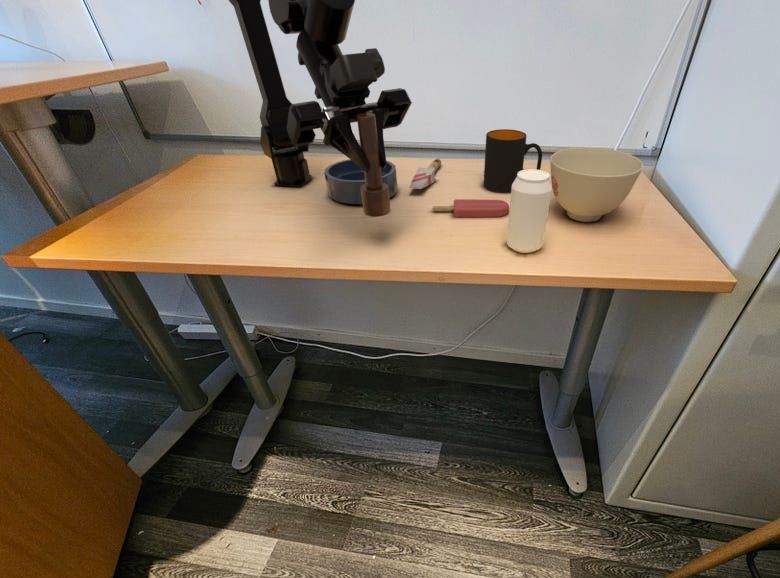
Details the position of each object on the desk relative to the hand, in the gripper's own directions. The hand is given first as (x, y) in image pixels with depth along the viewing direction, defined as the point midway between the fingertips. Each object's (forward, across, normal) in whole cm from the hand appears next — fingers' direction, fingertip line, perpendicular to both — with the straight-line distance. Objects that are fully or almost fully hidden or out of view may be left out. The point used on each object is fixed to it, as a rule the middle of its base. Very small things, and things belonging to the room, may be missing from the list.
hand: (376, 168), depth 62 cm
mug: (+4, +37, +14) cm, 40 cm away
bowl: (+18, +37, 0) cm, 41 cm away
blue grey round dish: (-8, +9, +26) cm, 29 cm away
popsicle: (+8, +21, +11) cm, 25 cm away
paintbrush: (-6, +25, +25) cm, 35 cm away
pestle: (+4, 0, +6) cm, 7 cm away
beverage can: (+20, +19, -2) cm, 27 cm away
